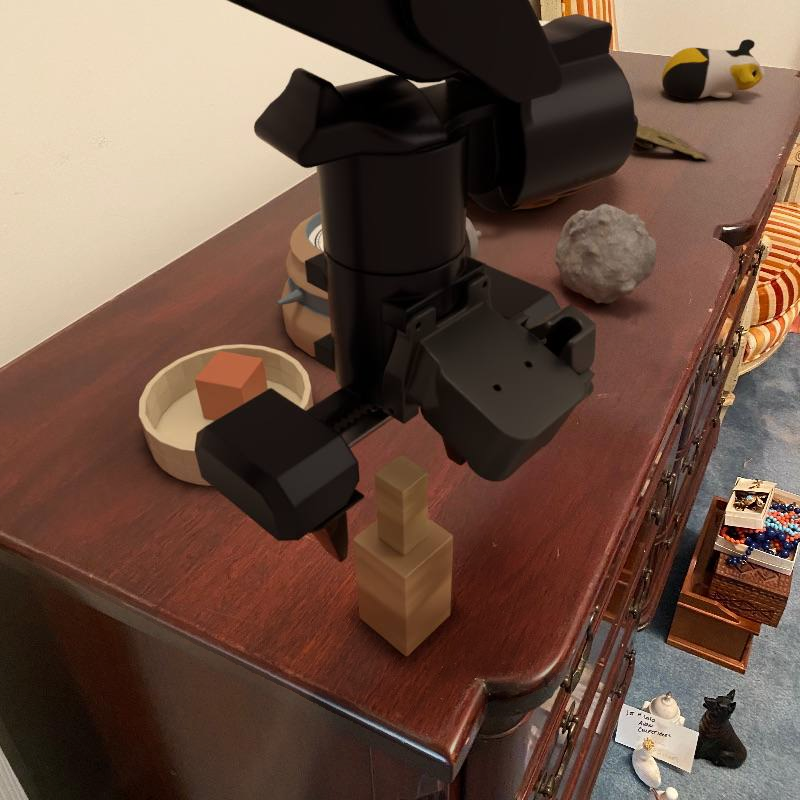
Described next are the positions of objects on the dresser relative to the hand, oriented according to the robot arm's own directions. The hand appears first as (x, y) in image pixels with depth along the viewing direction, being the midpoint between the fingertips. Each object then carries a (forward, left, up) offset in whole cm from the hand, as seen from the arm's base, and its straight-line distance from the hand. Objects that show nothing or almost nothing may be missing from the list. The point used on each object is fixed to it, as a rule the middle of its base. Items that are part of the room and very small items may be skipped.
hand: (400, 505), depth 40 cm
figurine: (+101, +30, -10) cm, 106 cm away
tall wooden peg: (0, 0, -3) cm, 3 cm away
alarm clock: (+25, +26, -10) cm, 38 cm away
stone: (+39, +11, -10) cm, 42 cm away
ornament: (+77, +26, -10) cm, 82 cm away
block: (+5, +24, -10) cm, 26 cm away
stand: (0, 0, -10) cm, 10 cm away
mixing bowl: (+4, +22, -10) cm, 25 cm away
